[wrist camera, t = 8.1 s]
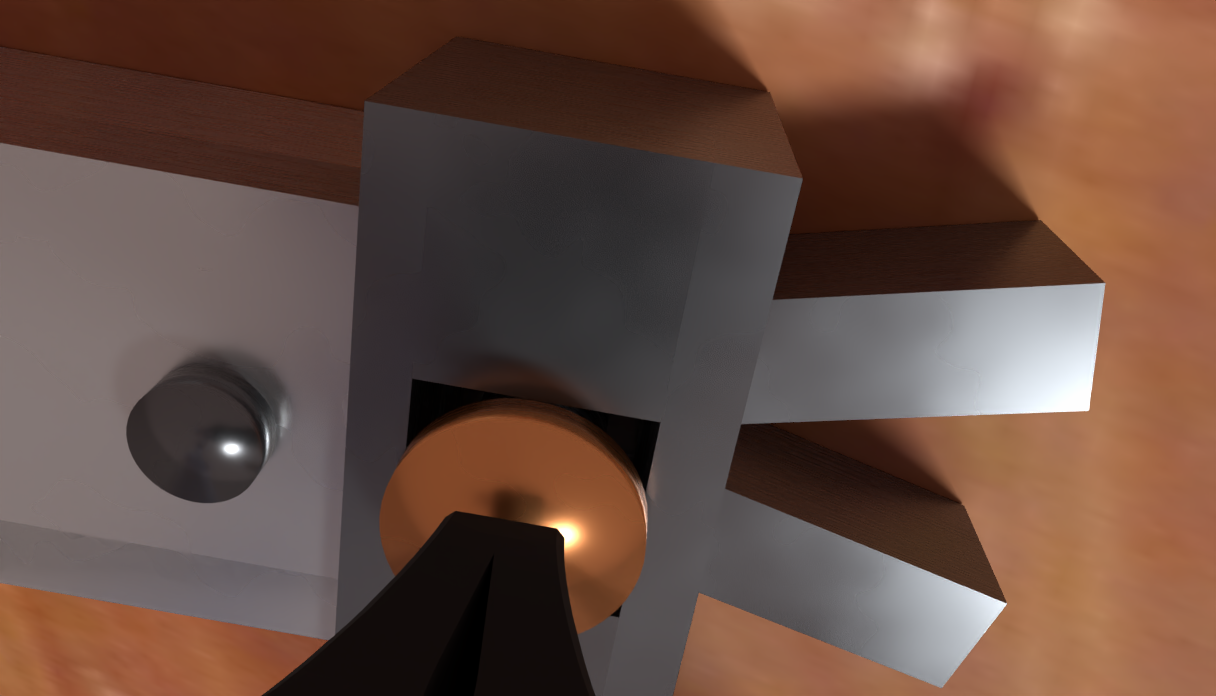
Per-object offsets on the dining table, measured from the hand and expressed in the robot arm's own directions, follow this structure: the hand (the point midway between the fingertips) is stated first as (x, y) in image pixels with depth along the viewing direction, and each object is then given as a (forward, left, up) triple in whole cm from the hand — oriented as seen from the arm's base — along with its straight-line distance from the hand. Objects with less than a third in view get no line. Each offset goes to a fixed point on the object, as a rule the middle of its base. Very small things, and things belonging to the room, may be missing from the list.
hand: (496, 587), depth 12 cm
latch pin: (0, 0, -5) cm, 5 cm away
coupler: (0, 0, -7) cm, 7 cm away
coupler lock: (0, +6, -7) cm, 9 cm away
